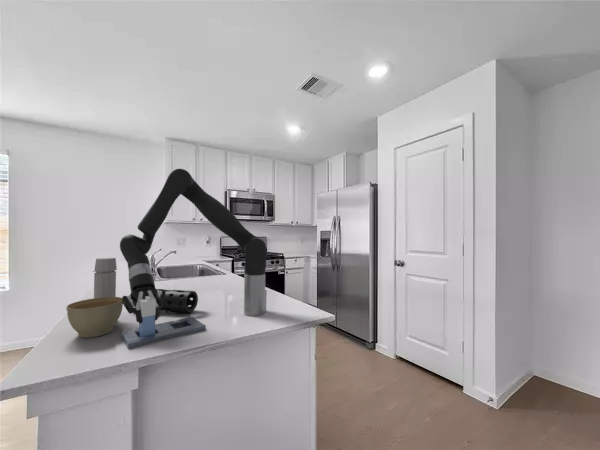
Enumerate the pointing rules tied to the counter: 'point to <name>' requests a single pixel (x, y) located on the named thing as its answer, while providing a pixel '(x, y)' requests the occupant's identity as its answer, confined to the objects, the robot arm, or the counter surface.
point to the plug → (147, 316)
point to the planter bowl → (94, 315)
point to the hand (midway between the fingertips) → (148, 320)
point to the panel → (162, 332)
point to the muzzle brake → (176, 301)
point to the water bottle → (105, 277)
